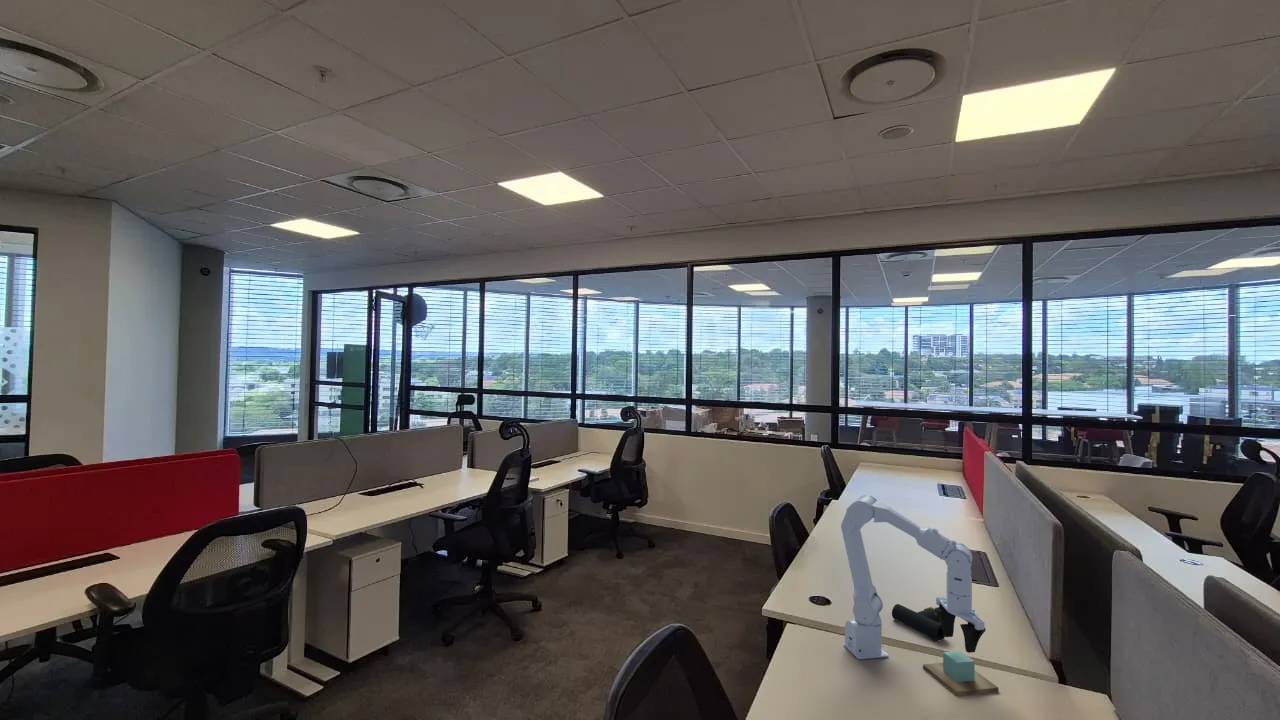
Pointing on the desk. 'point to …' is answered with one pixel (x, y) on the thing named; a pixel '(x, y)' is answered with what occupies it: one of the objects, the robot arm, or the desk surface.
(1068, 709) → the desk surface
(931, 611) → the pipe connector
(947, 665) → the teal cube
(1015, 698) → the desk surface
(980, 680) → the base plate
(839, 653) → the desk surface
